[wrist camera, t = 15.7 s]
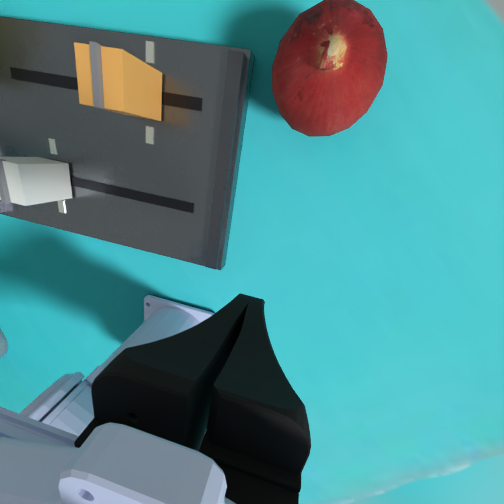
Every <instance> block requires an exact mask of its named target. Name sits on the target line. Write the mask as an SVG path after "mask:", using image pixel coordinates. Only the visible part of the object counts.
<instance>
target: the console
mask: <svg viewBox="0 0 504 504" xmlns="http://www.w3.org/2000/svg"><path fill="white" fill-rule="evenodd" d="M89 41H91V42H96V43H98V44H100V45H102V46H104V47H111V48H118V49H123V50H125V51H126V52H128V53H130V54H131V55H133V56H135V57H136V58H138V59H140V60H141V61H143V62H145V63H146V64H148V65H150V66H151V67H153V68H155V69H156V70H158V71H160V72H161V73H162V105H161V121H157V120H152V119H146V118H140V117H135V116H129V115H124V114H120V113H116V112H112V111H108V110H104V109H99V108H95V107H91V106H87V105H83V104H80V103H79V92H78V81H77V70H76V59H75V48H74V42H76V43H83V44H89ZM253 63H254V55H253V53H252V51H251V50H249V49H242V48H234V47H227V46H219V45H212V44H204V43H197V42H189V41H181V40H174V39H166V38H159V37H151V36H144V35H136V34H129V33H121V32H113V31H106V30H98V29H91V28H83V27H76V26H68V25H61V24H53V23H45V22H38V21H30V20H23V19H15V18H8V17H0V157H41V158H46V159H50V160H55V161H60V162H64V163H68V165H69V173H70V182H71V190H72V198H70V199H64V200H58V201H52V202H46V203H40V204H34V205H28V206H24V205H20V204H16V203H8V204H5V203H2V202H1V200H0V214H3V215H7V216H11V217H15V218H19V219H23V220H27V221H30V222H34V223H38V224H42V225H46V226H50V227H54V228H58V229H62V230H66V231H70V232H73V233H77V234H81V235H85V236H89V237H93V238H97V239H101V240H105V241H109V242H113V243H116V244H120V245H124V246H128V247H132V248H136V249H140V250H144V251H148V252H152V253H156V254H159V255H163V256H167V257H171V258H175V259H179V260H183V261H187V262H191V263H195V264H199V265H202V266H205V267H209V268H212V269H218V270H221V269H222V268H223V267H224V265H225V261H226V254H227V247H228V240H229V233H230V226H231V219H232V212H233V205H234V197H235V190H236V183H237V176H238V169H239V162H240V155H241V148H242V141H243V134H244V127H245V120H246V113H247V106H248V99H249V92H250V85H251V78H252V71H253Z"/></svg>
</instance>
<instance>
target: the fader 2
mask: <svg viewBox="0 0 504 504" xmlns="http://www.w3.org/2000/svg"><path fill="white" fill-rule="evenodd" d="M74 48H75V59H76V70H77V81H78V92H79V103H80V104H83V105H87V106H91V107H95V108H99V109H104V110H108V111H112V112H116V113H120V114H124V115H129V116H135V117H140V118H146V119H152V120H157V121H161V105H162V73H161V72H160V71H158V70H156V69H155V68H153V67H151V66H150V65H148V64H146V63H145V62H143V61H141V60H140V59H138V58H136V57H135V56H133V55H131V54H130V53H128V52H126V51H125V50H123V49H118V48H111V47H104V46H102V45H100V44H98V43H96V42H91V41H89V44H83V43H76V42H74Z"/></svg>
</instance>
